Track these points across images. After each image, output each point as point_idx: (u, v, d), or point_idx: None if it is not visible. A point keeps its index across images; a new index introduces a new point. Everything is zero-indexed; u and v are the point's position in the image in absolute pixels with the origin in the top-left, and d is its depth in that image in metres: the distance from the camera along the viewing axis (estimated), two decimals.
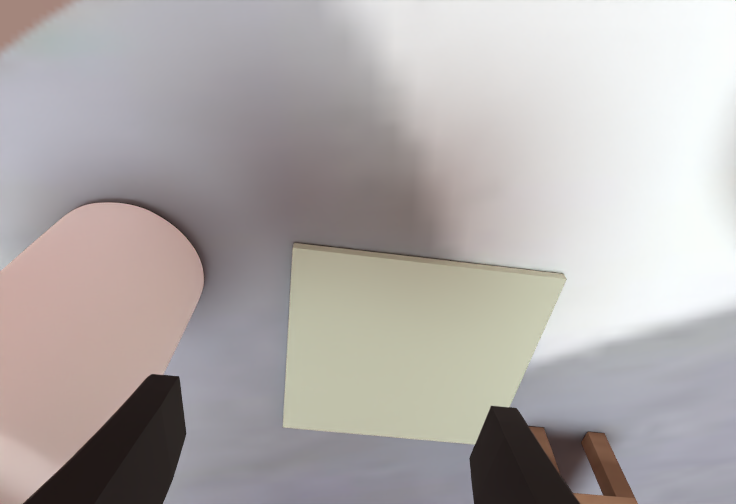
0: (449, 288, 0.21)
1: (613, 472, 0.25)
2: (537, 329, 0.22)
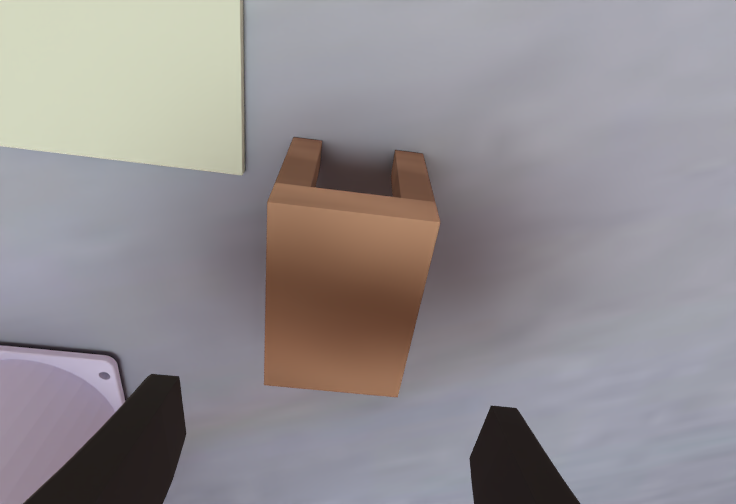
0: None
1: (413, 180, 0.15)
2: None
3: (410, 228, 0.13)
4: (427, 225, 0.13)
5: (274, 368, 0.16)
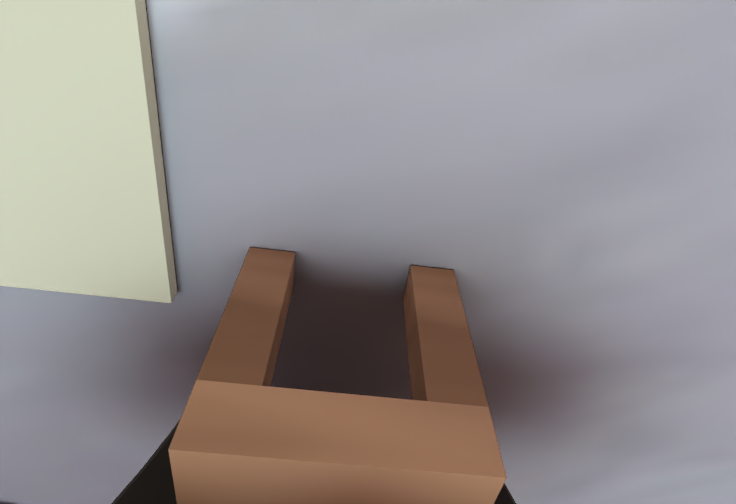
0: None
1: (444, 343, 0.09)
2: None
3: (448, 483, 0.07)
4: (481, 480, 0.07)
5: None
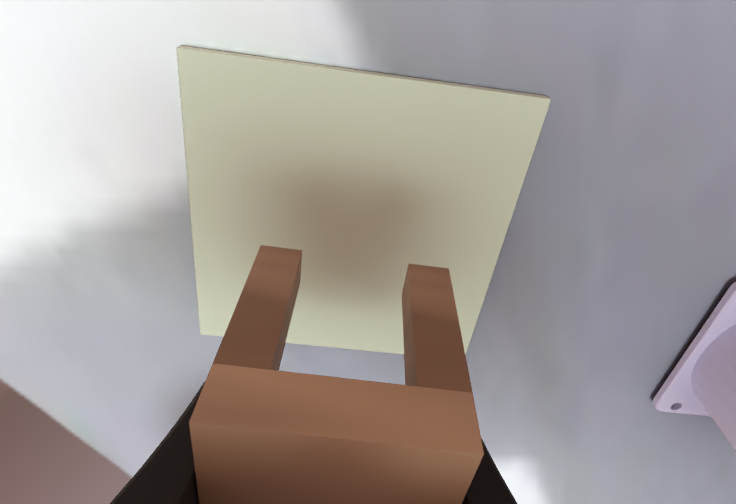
0: (221, 196, 0.17)
1: (435, 336, 0.10)
2: (273, 71, 0.15)
3: (432, 458, 0.08)
4: (461, 456, 0.08)
5: None
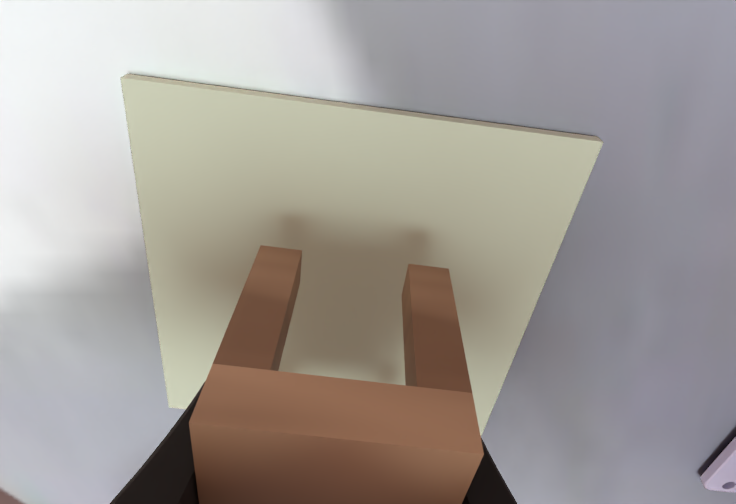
0: (187, 256, 0.14)
1: (435, 336, 0.10)
2: (246, 107, 0.12)
3: (432, 458, 0.08)
4: (461, 456, 0.08)
5: None
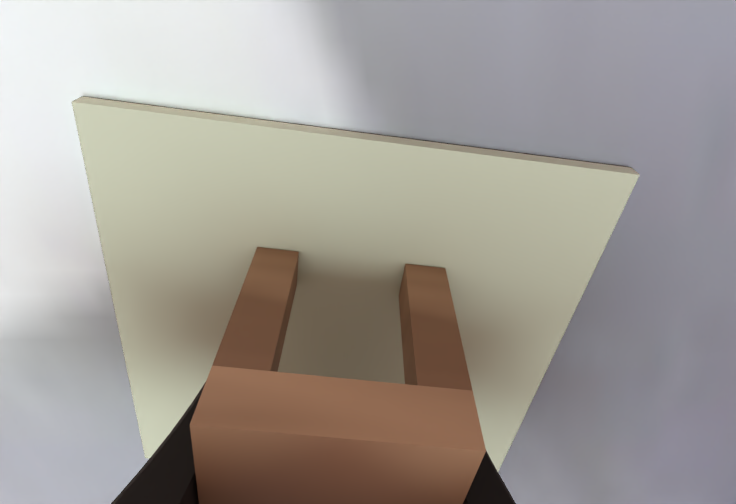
0: (158, 300, 0.12)
1: (434, 335, 0.10)
2: (222, 135, 0.10)
3: (434, 456, 0.08)
4: (463, 453, 0.08)
5: None
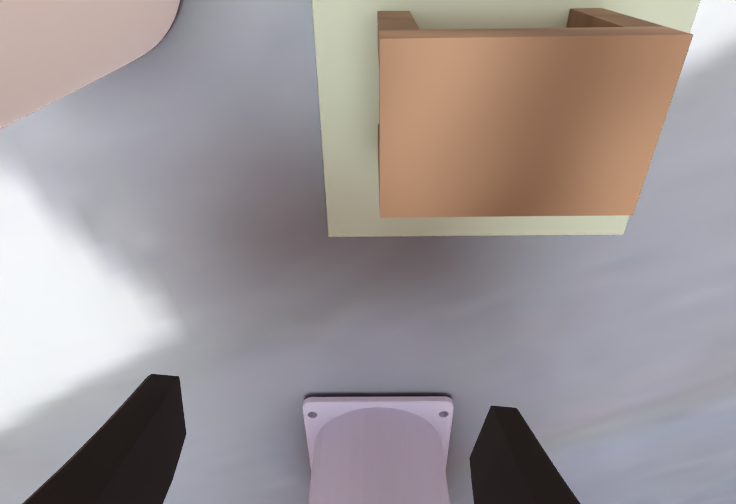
0: None
1: None
2: None
3: (628, 190, 0.13)
4: (630, 204, 0.13)
5: (416, 53, 0.11)
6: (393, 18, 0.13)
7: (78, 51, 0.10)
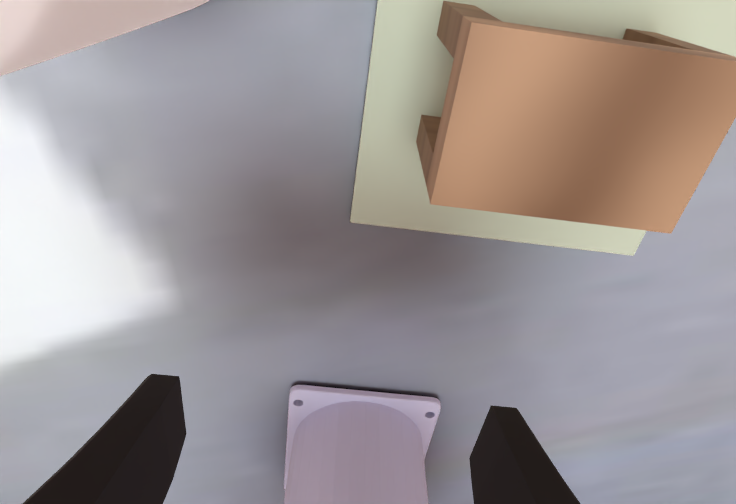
0: None
1: None
2: None
3: (672, 208, 0.13)
4: (670, 222, 0.13)
5: (503, 43, 0.11)
6: (466, 8, 0.13)
7: None
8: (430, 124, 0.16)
